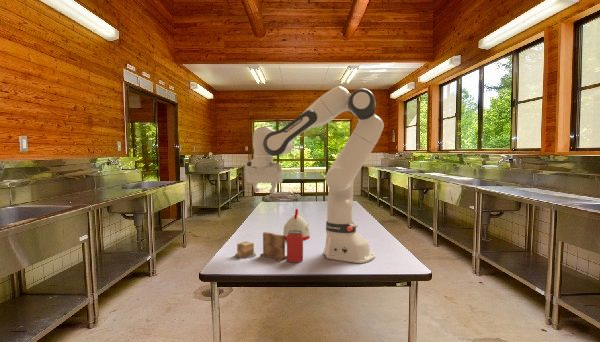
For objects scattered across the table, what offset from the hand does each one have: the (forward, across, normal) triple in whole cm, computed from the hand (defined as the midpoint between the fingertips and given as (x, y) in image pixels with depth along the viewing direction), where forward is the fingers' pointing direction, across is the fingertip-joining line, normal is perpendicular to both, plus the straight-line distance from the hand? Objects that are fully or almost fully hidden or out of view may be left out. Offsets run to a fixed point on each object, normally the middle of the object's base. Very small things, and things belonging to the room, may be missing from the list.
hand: (264, 192), depth 155 cm
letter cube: (+26, +1, +13) cm, 29 cm away
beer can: (+27, -21, +6) cm, 34 cm away
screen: (+26, -11, +8) cm, 30 cm away
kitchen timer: (+27, +2, -25) cm, 37 cm away
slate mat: (+26, +1, +13) cm, 29 cm away
